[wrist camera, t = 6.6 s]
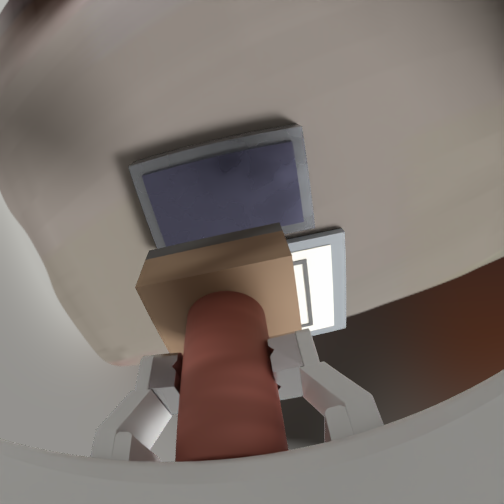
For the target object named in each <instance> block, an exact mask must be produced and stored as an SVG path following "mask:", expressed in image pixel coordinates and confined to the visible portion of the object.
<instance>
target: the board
mask: <svg viewBox="0 0 504 504" xmlns="http://www.w3.org/2000/svg"><path fill="white" fill-rule="evenodd" d="M286 241H287V244H288V246H289V249H290V252H291V254H292V260H293V267H294V274H295V281H296V288H297V296H298V303H299V311H300V319H301V327H302V329H307V328H308V329H309V330H310V332H311V335H312V336H314V335H318V334H322V333H327V332H331V331H335V330H339V329H343V328H346V256H345V232H344V231H343V229H342V228H340V229H335V230H331V231H326V232H321V233H316V234H311V235H306V236H301V237H297V238H292V239H287V240H286Z"/></svg>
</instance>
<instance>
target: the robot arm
mask: <svg viewBox="0 0 504 504" xmlns="http://www.w3.org/2000/svg"><path fill="white" fill-rule="evenodd" d="M267 339H268V346H269V350H270V355H271V356H270V358H271V364H272V369H273V374H274V378H275V383H276V384H277V387H278V393H279V398H280V400H284V399H289V398H295V397H300V396H303V397H304V398H305V399H306V400H307V401H308V402H309V403H310V404H312V405H313V406H314V407H315V408H316V409H317V410H318V411H319V412H320V413H321V414H322V415H323V416H325V443H321V444H317V445H312V446H308V447H303V448H298V449H293V450H288V451H282V452H276V453H270V454H263V455H256V456H249V457H240V458H231V459H220V460H206V461H183V462H161V459H160V458H159V457H158V456H157V455H155V454H154V453H153V452H152V451H150V449H151V448H152V446H153V444H154V443H155V441H156V439H157V438H158V437H159V435H160V434H161V432H162V430H163V429H164V427H165V426H166V424H167V423H168V421H169V419H170V418H171V416H172V414H178V409H179V396H180V383H181V372H182V362H183V355H182V353H179V352H178V353H169V354H159V355H151V356H143V357H142V359H141V362H140V366H139V371H138V376H137V381H136V386H135V390H132V391H130V393H129V394H128V395H127V396H126V397H125V398H124V399H123V400H122V401H121V403H120V404H119V405H118V406H117V407H116V408H115V409H114V410H113V411H112V413H111V414H110V415H109V416H108V417H107V418H106V419H105V420H104V421H103V423H102V424H101V425H100V426H99V427H98V428H97V429H96V432H95V437H94V441H93V446H92V452H91V456H90V457H85V456H77V455H71V454H65V453H59V452H54V451H48V450H44V449H39V448H34V447H30V446H26V445H22V444H18V443H14V442H10V441H7V440H4V439H0V504H504V370H502V371H501V372H499V373H497V374H496V375H494V376H492V377H490V378H489V379H487V380H485V381H483V382H481V383H480V384H478V385H476V386H474V387H472V388H470V389H469V390H466V391H464V392H462V393H460V394H458V395H456V396H454V397H452V398H450V399H448V400H446V401H444V402H441V403H439V404H437V405H435V406H432V407H430V408H428V409H425V410H423V411H421V412H418V413H416V414H413V415H411V416H408V417H406V418H403V419H400V420H398V421H395V422H392V423H389V424H387V425H383V422H382V419H381V417H380V414H379V412H378V409H377V407H376V404H375V401H374V398H373V396H372V395H371V394H370V393H369V392H367V391H366V390H364V389H363V388H361V387H360V386H358V385H357V384H355V383H354V382H353V381H351V380H350V379H348V378H347V377H345V376H344V375H342V374H341V373H340V372H338V371H337V370H335V369H334V368H332V367H331V366H329V365H328V364H327V363H325V362H320V361H319V358H318V354H317V351H316V348H315V345H314V342H313V338H312V335H311V332H310V330H309V329H308V328H307V329H302V330H298V331H295V332H294V331H293V332H289V333H284V334H280V335H275V336H271V337H267Z"/></svg>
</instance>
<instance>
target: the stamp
mask: <svg viewBox="0 0 504 504" xmlns="http://www.w3.org/2000/svg"><path fill="white" fill-rule="evenodd" d="M135 288H136V290H137V292H138V294H139V296H140V298H141V300H142V302H143V304H144V306H145V308H146V310H147V312H148V314H149V316H150V318H151V320H152V322H153V323H154V325H155V327H156V329H157V331H158V333H159V335H160V336H161V338H162V340H163V342H164V344H165V345H166V347H167V349H168V351H169V353H178V352H179V353H182V355H183V362H182V372H181V383H180V396H179V409H178V425H177V440H176V459H175V462H183V461H206V460H220V459H231V458H240V457H249V456H256V455H263V454H270V453H276V452H282V451H288V445H287V440H286V434H285V428H284V422H283V416H282V410H281V405H280V399H279V393H278V387H277V384H276V383H275V378H274V374H273V369H272V364H271V358H270V356H271V355H270V350H269V346H268V339H267V337H271V336H275V335H280V334H284V333H289V332H293V331H294V332H295V331H298V330H302V327H301V319H300V311H299V303H298V296H297V288H296V281H295V274H294V267H293V260H292V254H291V252H290V249H289V246H288V244H287V241H286V238H285V236H284V233H283V230H282V228H281V225H280V222H278V223H273V224H268V225H264V226H259V227H254V228H249V229H245V230H240V231H235V232H231V233H226V234H221V235H217V236H212V237H208V238H203V239H199V240H194V241H190V242H185V243H181V244H176V245H172V246H167V247H163V248H159V249H154V250H150V251H149V252H148V255H147V258H146V260H145V263H144V265H143V268H142V271H141V273H140V276H139V279H138V281H137V284H136V287H135Z"/></svg>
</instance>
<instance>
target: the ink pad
mask: <svg viewBox="0 0 504 504" xmlns="http://www.w3.org/2000/svg"><path fill="white" fill-rule="evenodd" d="M129 170H130V174H131V177H132V180H133V183H134V186H135V189H136V192H137V195H138V197H139V200H140V203H141V206H142V209H143V212H144V215H145V217H146V220H147V223H148V226H149V228H150V231H151V234H152V236H153V239H154V242H155V244H156V247H157V249H159V248H163V247H167V246H172V245H176V244H181V243H185V242H190V241H194V240H199V239H203V238H208V237H212V236H217V235H221V234H226V233H231V232H235V231H240V230H245V229H249V228H254V227H259V226H264V225H268V224H273V223H278V222H280V225H281V228H282V230H283V233H284V234H287V233H292V232H297V231H302V230H307V229H312V228H315V222H314V213H313V205H312V196H311V188H310V180H309V172H308V165H307V158H306V151H305V144H304V137H303V131H302V126H300V125H298V124H294V125H287V126H281V127H276V128H270V129H264V130H259V131H254V132H249V133H244V134H239V135H234V136H230V137H225V138H221V139H216V140H212V141H208V142H204V143H199V144H195V145H191V146H188V147H184V148H180V149H176V150H173V151H169V152H165V153H162V154H158V155H155V156H152V157H148V158H145V159H142V160H138V161H135V162H133V163H132V164H131V165H130V166H129Z"/></svg>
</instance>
